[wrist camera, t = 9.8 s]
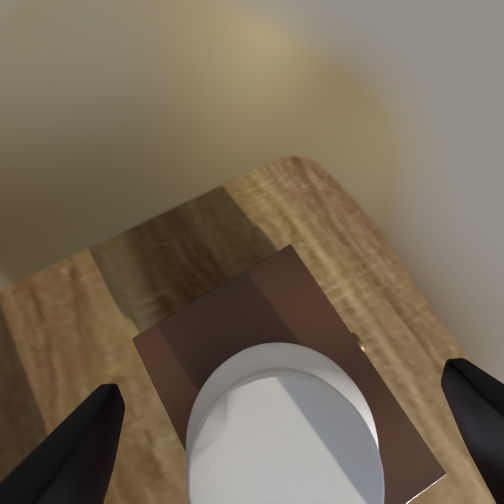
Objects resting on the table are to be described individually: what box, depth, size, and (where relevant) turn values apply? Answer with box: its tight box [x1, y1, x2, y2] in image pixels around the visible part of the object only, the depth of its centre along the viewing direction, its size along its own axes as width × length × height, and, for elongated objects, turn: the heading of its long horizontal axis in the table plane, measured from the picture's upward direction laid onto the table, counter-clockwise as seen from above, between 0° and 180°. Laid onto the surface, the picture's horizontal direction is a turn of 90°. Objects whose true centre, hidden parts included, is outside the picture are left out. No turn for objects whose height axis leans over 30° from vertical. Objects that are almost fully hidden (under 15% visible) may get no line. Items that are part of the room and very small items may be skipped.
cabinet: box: [132, 244, 446, 504], centre depth 18 cm, size 13×10×5 cm
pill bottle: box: [186, 342, 385, 504], centre depth 11 cm, size 5×5×10 cm
